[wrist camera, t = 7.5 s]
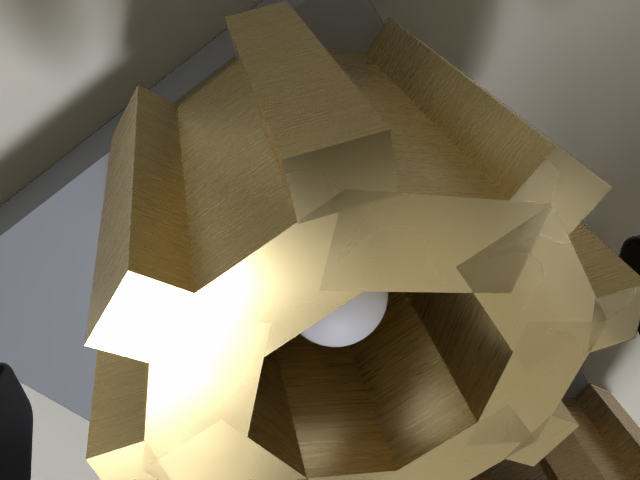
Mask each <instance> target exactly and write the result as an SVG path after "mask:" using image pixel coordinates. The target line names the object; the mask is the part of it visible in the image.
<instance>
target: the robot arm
mask: <svg viewBox="0 0 640 480" xmlns="http://www.w3.org/2000/svg"><path fill="white" fill-rule="evenodd" d="M619 257H620V258H621V259H622V260H623V261H624V262H625V263H626V264H627V265H628V266H630V267H631V268H632V269H633V270H634V271H635V272H636V273H637V274H638V275H640V235H637V236H632V237H630V238H628V239H627V240H626V241H625V242H624V243H623V245H622V248H621V251H620V255H619ZM637 331H638V332H639V334H640V321H639V326H638V330H637ZM32 433H33V413H32V407H31V404H30V402H29V399H28V398H27V396H26V394H25V392H24V390H23V388H22V386H21V384H20V382H19V380H18V379H17V377H16V375H15V373H14V371H13V369H12V368H11V367H10V366H9V365H8V364H7V363H3V362H1V363H0V480H31V458H32Z"/></svg>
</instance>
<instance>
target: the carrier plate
mask: <svg viewBox="0 0 640 480" xmlns="http://www.w3.org/2000/svg"><path fill="white" fill-rule="evenodd" d="M283 1H287V2H288V3H289V4H290V6H291V7H292V8H293V9H294V10H295V12H296V13H297V14H298V15H299V17H300V18H301V19H302V20H303V22H304V23H305V24H306V25H307V27H308V28H309V29H310V30H311V32H312V33H313V34H314V35H315V36H316V38H317V39H318V40H319V41H320V43H321V44H322V45H323V46H324V47H326V48H333V49H340V50H346V51H353V52H360V53H366V52H367V50H368V49H369V47H370V46H371V44H372V43H373V41H374V40H375V38H376V37H377V35H378V34H379V32H380V31H381V29H382V28H383V26H384V24H383V22H382V20H381V19H380V17H379V15H378V13H377V12H376V10H375V8H374V6H373V5H372V3H371V1H370V0H263V1H262V2H261V3H260V4H258V5H257V6H256V7H254V8H253V9H256V8H260V7H264V6H268V5H271V4H275V3H279V2H283ZM235 59H236V56H235V52H234V49H233V45H232V41H231V38H230V34H229V30H228V29H226V30H225V31H224V32H223V33H221V34H220V35H219V36H217V37H216V38H215V39H214V40H212V41H211V42H210V43H208V44H207V45H206V46H205V47H203V48H202V49H201V50H200V51H198V52H197V53H196V54H194V55H193V56H192V57H191V58H189V59H188V60H187V61H185V62H184V63H183V64H182V65H180V66H179V67H178V68H177V69H175V70H174V71H173V72H171V73H170V74H169V75H168V76H166V77H165V78H164V79H162V80H161V81H160V82H159V83H157V84H156V85H155V86H154V87H152V88H151V89H150V91H152V92H154V93H156V94H158V95H160V96H162V97H164V98H166V99H168V100H170V101H172V102H174V103H176V104H178V103H179V102H180V101H182V100H183V99H184V98H185V97H187V96H188V95H189V94H191V93H192V92H193V91H195V90H196V89H197V88H198V87H200V86H201V85H202V84H204V83H205V82H206V81H208V80H209V79H210V78H212V77H213V76H214V75H215V74H217V73H218V72H219V71H221V70H222V69H223V68H225V67H226V66H227V65H229V64H230V63H231V62H232V61H234V60H235ZM125 109H126V108H125ZM125 109H124V110H123V111H122V112H120V113H119V114H118V115H116V116H115V117H114V118H113V119H111V120H110V121H109V122H108V123H106V124H105V125H104V126H102V127H101V128H100V129H99V130H97V131H96V132H95V133H93V134H92V135H91V136H90V137H88V138H87V139H86V140H85V141H83V142H82V143H81V144H79V145H78V146H77V147H76V148H74V149H73V150H72V151H70V152H69V153H68V154H67V155H65V156H64V157H63V158H62V159H60V160H59V161H58V162H56V163H55V164H54V165H53V166H51V167H50V168H49V169H47V170H46V171H45V172H44V173H42V174H41V175H40V176H39V177H37V178H36V179H35V180H33V181H32V182H31V183H30V184H28V185H27V186H26V187H24V188H23V189H22V190H21V191H19V192H18V193H17V194H16V195H14V196H13V197H12V198H10V199H9V200H8V201H7V202H5V203H4V204H3V205H1V206H0V363H1V362H3V363H7V364H8V365H9V366H10V367H11V368H12V369H13V371H14V373H15V375H16V377H17V379H18V380H19V381H20V382H21V383H23V384H25V385H27V386H28V387H30V388H32V389H34V390H35V391H37V392H39V393H41V394H42V395H44V396H46V397H48V398H50V399H51V400H53V401H55V402H57V403H58V404H60V405H62V406H64V407H65V408H67V409H69V410H71V411H72V412H74V413H76V414H78V415H79V416H81V417H83V418H85V419H86V420H88V421H90V415H91V405H92V396H93V386H94V377H95V368H96V358H97V349H95V348H91V347H88V346H84V344H85V336H86V329H87V321H88V313H89V306H90V298H91V291H92V283H93V276H94V268H95V260H96V253H97V245H98V238H99V230H100V223H101V215H102V207H103V200H104V192H105V185H106V177H107V170H108V162H109V154H110V147H111V139H112V134H113V132H114V131H115V129H116V127H117V125H118V123H119V121H120V119H121V117H122V115H123V113H124V111H125ZM387 302H388V292H370V291H364V292H362V293H361V294H359V295H358V296H356V297H355V298H353V299H352V300H350V301H349V302H347V303H346V304H344V305H343V306H341V307H339V308H338V309H336V310H335V311H333V312H332V313H330V314H329V315H327V316H326V317H324V318H323V319H321V320H320V321H318V322H317V323H315V324H314V325H312V326H311V327H309V328H308V329H306V330H305V331H303V332H302V333H300V334H301V335H302V336H303V337H305V338H306V339H308V340H309V341H311V342H314V343H316V344H319V345H322V346H328V347H343V346H348V345H351V344H354V343H356V342H359V341H360V340H362V339H364V338H365V337H367V336H368V335H369V334H370V333H372V331H373V330H374V329H375V328H376V327H377V326H378V324H379V323H380V321H381V320H382V318H383V315H384V313H385V311H386V307H387ZM587 385H588V383H587V381H586V379H585V377H584V375H583V374H582V372H581V370H580V369H579V371H578V373H577V374H576V376H575V378H574V379H573V381H572V383H571V384H570V386H569V388H568V389H567V391H566V393H565V394H564V396H563V398H562V399H564V398H574V397H575V396H576V395H577V394H578V393H579V392H580V391H581V390H582V389H583V388H584V387H586V386H587Z"/></svg>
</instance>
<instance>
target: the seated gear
mask: <svg viewBox="0 0 640 480" xmlns="http://www.w3.org/2000/svg"><path fill="white" fill-rule="evenodd" d="M561 401H562V402H563V404H564V405H565V406H566V408H567V409H568V411H569V412H570V413H571V415H572V416H573V418H574V419H575V420H576V422H577V423H578V424H579V426H578V427H577V428H576V429H575V430H574V431H573V432H572V433H571V434H569V435H568V436H567V437H566V438H565V439H564V440H563V441H562V442H560V443H559V444H558V445H557V446H556V447H555V448H554V449H553V450H552V451H550V452H549V453H548V454H547V455H546V456H545V457H544V458H543V459H542V460H540V461H539V462H538V463H537V464H536V465H535V466H534V467H533V466H529V465H526V464H522V463H518V462H515V461H511V460H507V459H504V460H503V461H501V462H499V463H497V464H496V465H494V466H492V467H490V468H489V469H487V470H485V471H484V472H482V473H480V474H478V475H477V476H475V477H473V478H472V479H470V480H640V428H639V427H638V426H637V424H636V423H635V422H634V421H633V420H632V418H631V417H630V416H629V415H628V413H627V412H626V411H625V410H624V409H623V407H622V406H621V405H620V404H619V402H618V401H617V400H616V399H615V398H614V396H613V395H612V394H611V393H610V392H609V391H608V390H606V389H603V388H601V387H598V386H596V385H593V384H591V383H589V384H588V385H587V386H586V387H584V388H583V389H582V390H581V391H580V392H579V393H578V394H577V395H576V396H575V397H574V398H564V399H561Z"/></svg>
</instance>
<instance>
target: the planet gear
mask: <svg viewBox="0 0 640 480" xmlns="http://www.w3.org/2000/svg"><path fill="white" fill-rule="evenodd" d="M225 19H226V23H227V27H228V30H229V34H230V38H231V41H232V45H233V49H234V52H235V56H236V59H235V60H234V61H232V62H231V63H230V64H229V65H227V66H226V67H225V68H223V69H222V70H221V71H219V72H218V73H217V74H215V75H214V76H213V77H212V78H210V79H209V80H208V81H206V82H205V83H204V84H202V85H201V86H200V87H198V88H197V89H196V90H195V91H193V92H192V93H191V94H189V95H188V96H187V97H185V98H184V99H183V100H182V101H180V102H179V103H178V104H176V103H174V102H172V101H170V100H168V99H166V98H164V97H162V96H160V95H158V94H156V93H154V92H152V91H150V90H148V89H146V88H144V87H143V86H141V85H139V84H138V86H137V88H136V90H135V91H134V93H133V95H132V97H131V99H130V101H129V103H128V105H127V107H126V109H125V111H124V113H123V115H122V117H121V119H120V121H119V123H118V125H117V127H116V129H115V131H114V132H113V134H112V139H111V147H110V154H109V162H108V170H107V177H106V185H105V192H104V200H103V207H102V215H101V223H100V230H99V238H98V245H97V253H96V260H95V268H94V276H93V283H92V291H91V298H90V306H89V313H88V321H87V329H86V336H85V344H84V346H88V347H91V348H95V349H97V358H96V368H95V377H94V386H93V396H92V405H91V415H90V424H89V434H88V443H87V453H86V460H87V462H88V463H89V464H90V466H91V467H92V468H93V470H94V471H95V472H96V474H97V475H98V476H99V478H100V479H101V480H470V479H472V478H473V477H475V476H477V475H478V474H480V473H482V472H484V471H485V470H487V469H489V468H490V467H492V466H494V465H496V464H497V463H499V462H501V461H503V460H504V459H507V460H511V461H515V462H518V463H522V464H526V465H529V466H533V467H534V466H535V465H536V464H537V463H538V462H539V461H540V460H542V459H543V458H544V457H545V456H546V455H547V454H548V453H549V452H550V451H552V450H553V449H554V448H555V447H556V446H557V445H558V444H559V443H560V442H562V441H563V440H564V439H565V438H566V437H567V436H568V435H569V434H571V433H572V432H573V431H574V430H575V429H576V428H577V427H578V426H579V424H578V423H577V422H576V420H575V419H574V418H573V416H572V415H571V413H570V412H569V411H568V409H567V408H566V406H565V405H564V404H563V402H562V401H561V399H562V398H563V396H564V394H565V393H566V391H567V389H568V388H569V386H570V384H571V383H572V381H573V379H574V378H575V376H576V374H577V373H578V371H579V369H580V368H581V366H582V364H583V363H584V361H585V359H586V358H587V356H588V354H589V353H591V352H594V351H597V350H600V349H604V348H607V347H610V346H613V345H616V344H619V343H622V342H625V341H628V340H631V339H635V338H636V335H637V330H638V326H639V321H640V275H638V274H637V273H636V272H635V271H634V270H633V269H632V268H631V267H630V266H628V265H627V264H626V263H625V262H624V261H623V260H622V259H621V258H620V257H619V256H617V255H616V254H615V253H614V252H613V251H612V250H611V249H610V248H609V247H607V246H606V245H605V244H604V243H603V242H602V241H601V240H600V239H599V238H598V237H596V236H595V235H594V234H593V233H592V232H591V231H590V230H589V229H588V228H586V227H585V226H584V225H583V224H582V223H581V221H582V220H583V219H584V218H585V217H586V216H587V215H588V214H589V213H590V212H591V211H592V210H593V208H594V207H595V206H596V205H597V204H598V203H599V202H600V201H601V200H602V199H603V198H604V197H605V196H606V195H607V193H608V192H609V191H610V190H611V189H612V188H613V187H612V186H610V185H609V184H608V183H607V182H605V181H604V180H603V179H601V178H600V177H599V176H597V175H596V174H595V173H594V172H592V171H591V170H590V169H588V168H587V167H586V166H584V165H583V164H582V163H580V162H579V161H578V160H577V159H575V158H574V157H573V156H571V155H570V154H569V153H567V152H566V151H565V150H563V149H562V148H561V147H560V146H558V145H557V144H556V143H554V142H553V141H552V140H550V139H549V138H548V137H547V136H545V135H544V134H543V133H541V132H540V131H539V130H537V129H536V128H535V127H533V126H532V125H531V124H530V123H528V122H527V121H526V120H524V119H523V118H522V117H520V116H519V115H518V114H516V113H515V112H514V111H513V110H511V109H510V108H509V107H507V106H506V105H505V104H503V103H502V102H501V101H500V100H498V99H497V98H496V97H494V96H493V95H492V94H490V93H489V92H488V91H486V90H485V89H484V88H483V87H481V86H480V85H479V84H477V83H476V82H475V81H473V80H472V79H471V78H469V77H468V76H467V75H466V74H464V73H463V72H462V71H460V70H459V69H458V68H456V67H455V66H454V65H453V64H451V63H450V62H449V61H447V60H446V59H445V58H443V57H442V56H441V55H439V54H438V53H437V52H436V51H434V50H433V49H432V48H430V47H429V46H427V45H426V44H425V43H423V42H422V41H420V40H419V39H418V38H416V37H415V36H414V35H412V34H411V33H409V32H408V31H407V30H405V29H404V28H402V27H401V26H400V25H398V24H397V23H395V22H394V21H393V20H391V19H390V18H389V19H388V20H387V22H386V23H385V25H384V26H383V28H382V29H381V31H380V32H379V34H378V35H377V37H376V38H375V40H374V41H373V43H372V44H371V46H370V47H369V49H368V50H367V52H366V53H360V52H353V51H346V50H340V49H333V48H326V47H324V46H323V45H322V44H321V43H320V41H319V40H318V39H317V38H316V36H315V35H314V34H313V33H312V32H311V30H310V29H309V28H308V27H307V25H306V24H305V23H304V22H303V20H302V19H301V18H300V17H299V15H298V14H297V13H296V12H295V10H294V9H293V8H292V7H291V6H290V4H289V3H288V2H287V1H283V2H279V3H275V4H271V5H268V6H264V7H260V8H256V9H252V10H248V11H244V12H240V13H237V14H233V15H229V16H225ZM364 291H370V292H388V302H387V307H386V311H385V313H384V315H383V318H382V320H381V321H380V323H379V324H378V326H377V327H376V328H375V329H374V330H373V331H372V333H370V334H369V335H368V336H367V337H365V338H364V339H362V340H360V341H359V342H356V343H354V344H351V345H348V346H343V347H328V346H322V345H319V344H316V343H314V342H311V341H309V340H308V339H306V338H305V337H303V336H302V335H301V334H300V333H302V332H303V331H305V330H306V329H308V328H309V327H311V326H312V325H314V324H315V323H317V322H318V321H320V320H321V319H323V318H324V317H326V316H327V315H329V314H330V313H332V312H333V311H335V310H336V309H338V308H339V307H341V306H343V305H344V304H346V303H347V302H349V301H350V300H352V299H353V298H355V297H356V296H358V295H359V294H361V293H362V292H364Z"/></svg>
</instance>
